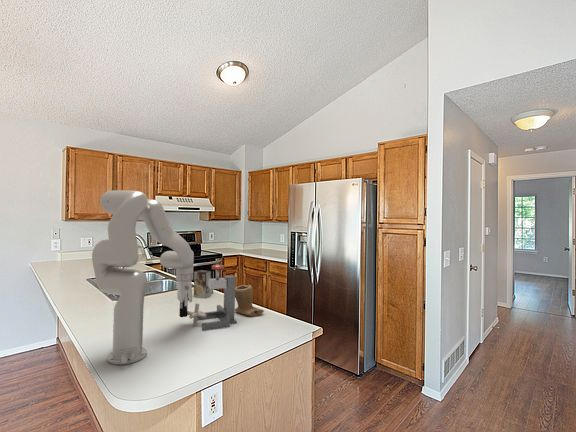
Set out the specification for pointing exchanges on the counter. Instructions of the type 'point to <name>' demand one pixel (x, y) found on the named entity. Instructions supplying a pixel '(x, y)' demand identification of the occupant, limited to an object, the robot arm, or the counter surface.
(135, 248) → the robot arm
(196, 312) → the pipe connector
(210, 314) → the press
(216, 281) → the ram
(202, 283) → the coffee box
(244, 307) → the brown boot vase
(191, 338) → the counter surface
